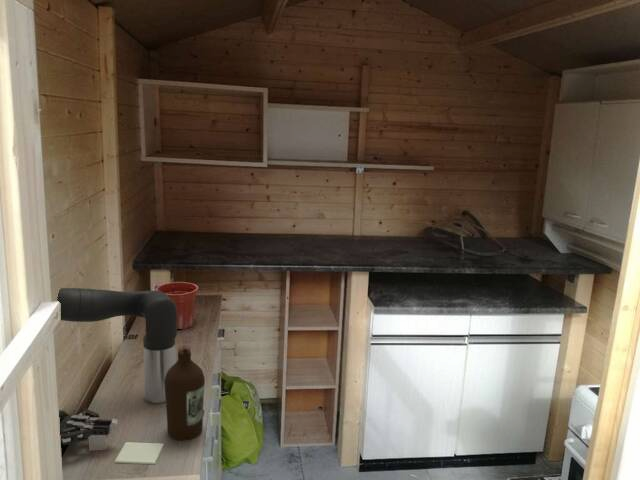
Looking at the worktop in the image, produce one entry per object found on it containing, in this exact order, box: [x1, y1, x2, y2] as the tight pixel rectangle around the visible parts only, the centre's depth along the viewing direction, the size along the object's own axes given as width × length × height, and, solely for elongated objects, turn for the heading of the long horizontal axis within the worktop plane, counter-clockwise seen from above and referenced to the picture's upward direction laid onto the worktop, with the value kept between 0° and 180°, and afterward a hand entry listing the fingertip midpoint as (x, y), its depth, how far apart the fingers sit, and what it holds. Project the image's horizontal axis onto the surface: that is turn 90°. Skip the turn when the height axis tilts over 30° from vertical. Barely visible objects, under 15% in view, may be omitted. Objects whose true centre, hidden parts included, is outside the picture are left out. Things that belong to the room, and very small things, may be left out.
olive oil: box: [164, 344, 206, 441], centre depth 147 cm, size 11×11×25 cm
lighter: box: [88, 418, 119, 452], centre depth 140 cm, size 7×2×8 cm, turn 102°
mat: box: [114, 441, 165, 465], centre depth 139 cm, size 8×10×1 cm
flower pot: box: [155, 281, 199, 330], centre depth 220 cm, size 16×16×16 cm
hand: (110, 427), depth 139 cm, fingers closed
